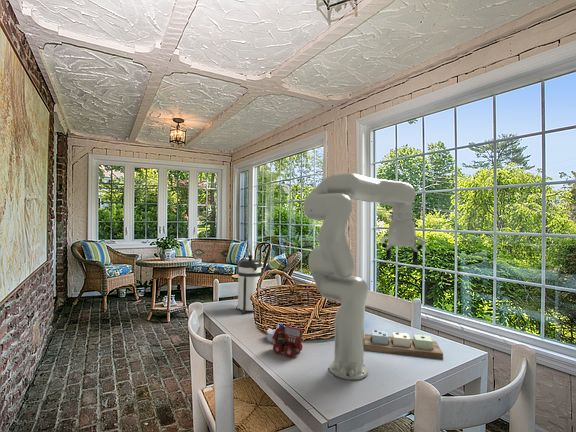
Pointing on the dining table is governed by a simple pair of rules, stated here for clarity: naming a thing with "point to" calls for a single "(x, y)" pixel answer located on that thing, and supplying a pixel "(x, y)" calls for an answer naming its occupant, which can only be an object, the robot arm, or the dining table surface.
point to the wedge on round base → (271, 334)
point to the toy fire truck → (287, 340)
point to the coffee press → (247, 282)
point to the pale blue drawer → (379, 337)
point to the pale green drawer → (423, 341)
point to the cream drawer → (401, 339)
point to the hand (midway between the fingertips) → (401, 260)
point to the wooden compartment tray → (402, 348)
